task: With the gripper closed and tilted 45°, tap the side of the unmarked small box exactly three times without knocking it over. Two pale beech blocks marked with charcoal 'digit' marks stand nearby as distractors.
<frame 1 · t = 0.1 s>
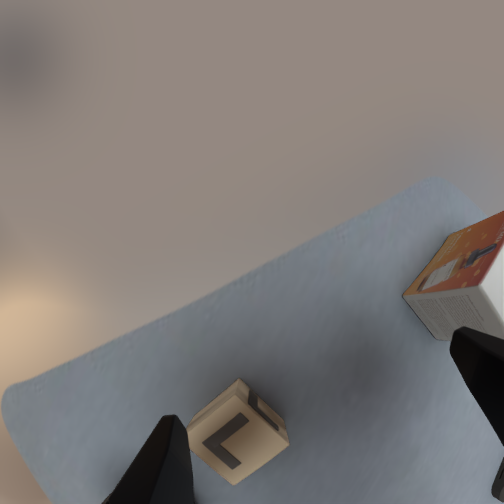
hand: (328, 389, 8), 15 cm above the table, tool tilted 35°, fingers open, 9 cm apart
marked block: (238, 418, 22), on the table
small box: (443, 286, 23), on the table
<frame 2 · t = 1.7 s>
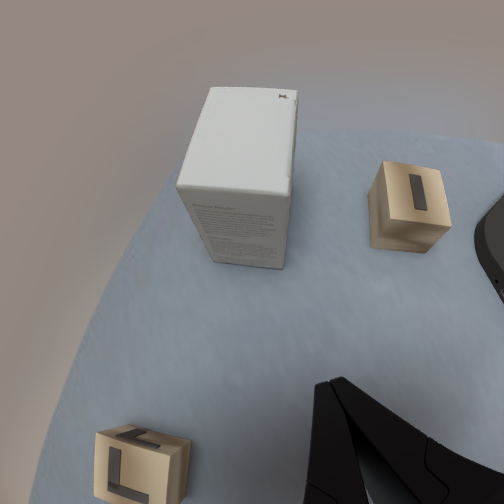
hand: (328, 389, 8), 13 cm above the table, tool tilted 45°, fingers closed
small box: (254, 222, 25), on the table
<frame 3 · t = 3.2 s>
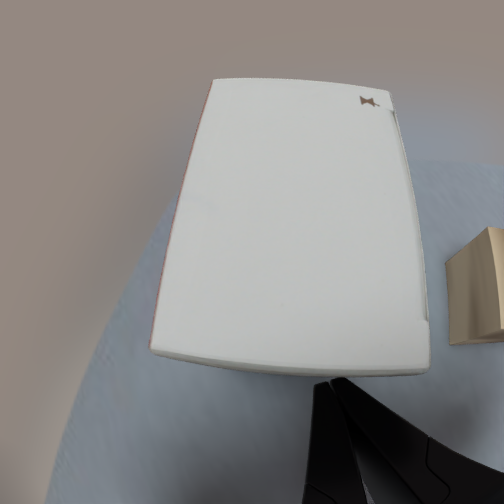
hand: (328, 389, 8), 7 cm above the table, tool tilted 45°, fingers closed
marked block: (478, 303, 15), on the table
small box: (286, 300, 16), on the table, touching gripper
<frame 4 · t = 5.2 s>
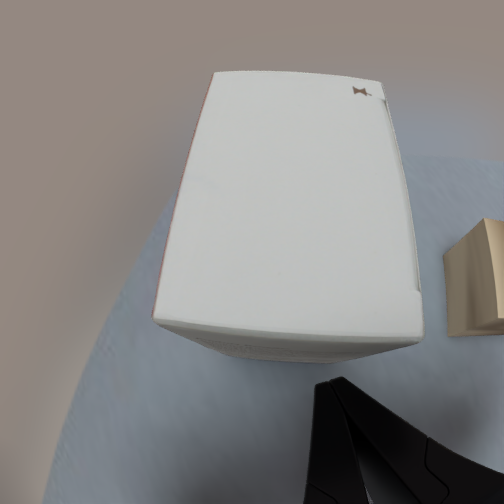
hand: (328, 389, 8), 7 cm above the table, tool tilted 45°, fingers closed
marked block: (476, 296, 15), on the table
small box: (286, 289, 17), on the table
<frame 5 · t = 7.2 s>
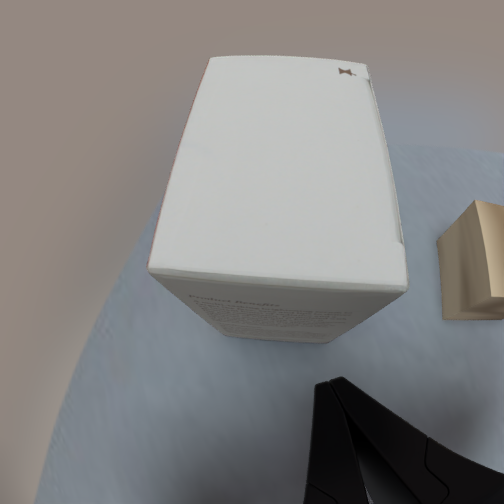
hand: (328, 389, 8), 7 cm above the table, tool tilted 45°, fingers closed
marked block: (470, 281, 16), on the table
small box: (281, 271, 17), on the table
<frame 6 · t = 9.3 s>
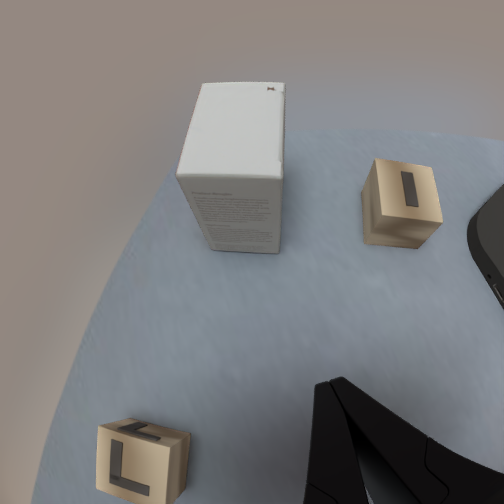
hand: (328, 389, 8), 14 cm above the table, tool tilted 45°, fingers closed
small box: (249, 211, 26), on the table
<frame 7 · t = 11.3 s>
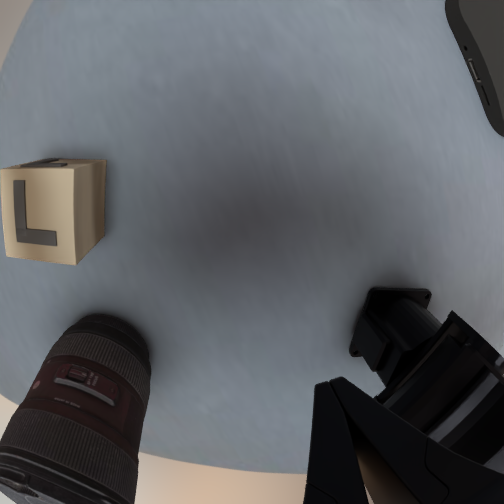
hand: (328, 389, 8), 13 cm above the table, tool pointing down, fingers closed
media streaming box: (502, 57, 17), on the table
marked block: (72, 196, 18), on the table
camera lens: (109, 347, 22), on the table
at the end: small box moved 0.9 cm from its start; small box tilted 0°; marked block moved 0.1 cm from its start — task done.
